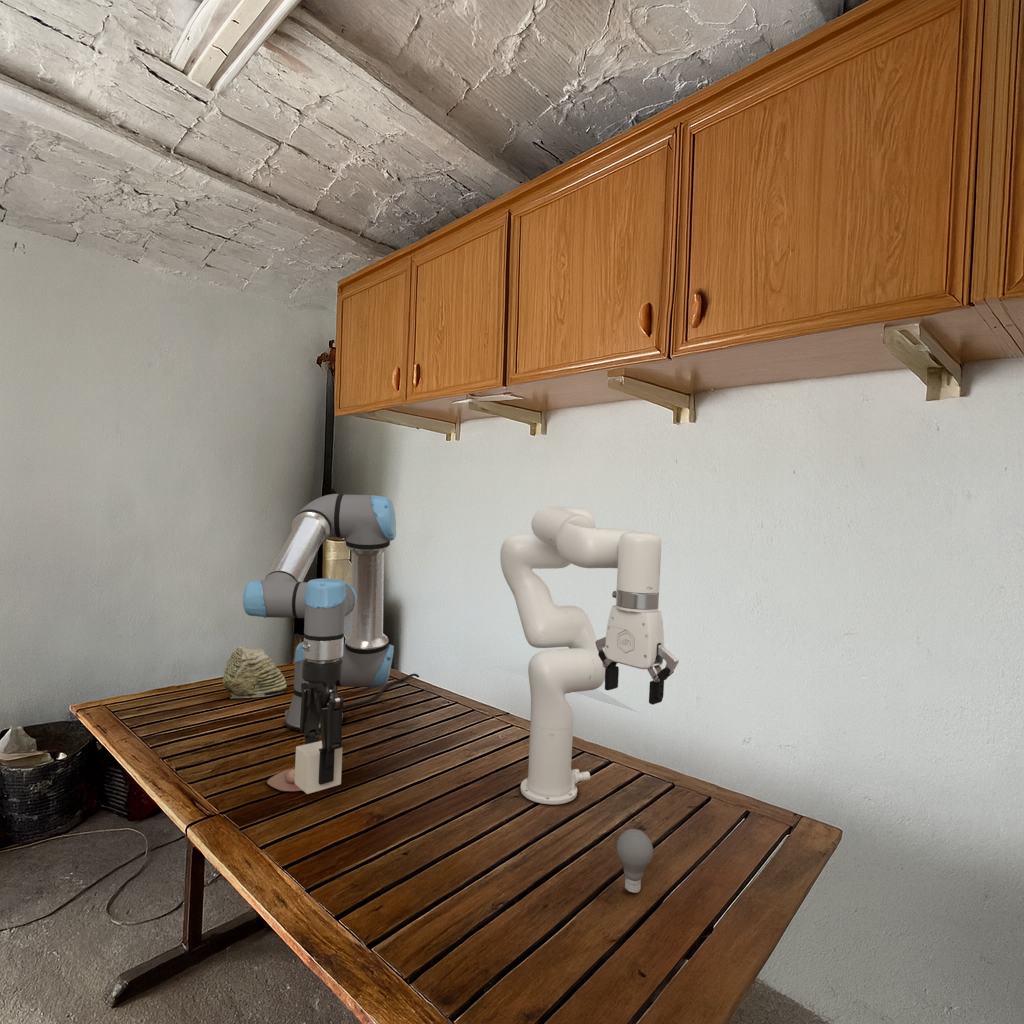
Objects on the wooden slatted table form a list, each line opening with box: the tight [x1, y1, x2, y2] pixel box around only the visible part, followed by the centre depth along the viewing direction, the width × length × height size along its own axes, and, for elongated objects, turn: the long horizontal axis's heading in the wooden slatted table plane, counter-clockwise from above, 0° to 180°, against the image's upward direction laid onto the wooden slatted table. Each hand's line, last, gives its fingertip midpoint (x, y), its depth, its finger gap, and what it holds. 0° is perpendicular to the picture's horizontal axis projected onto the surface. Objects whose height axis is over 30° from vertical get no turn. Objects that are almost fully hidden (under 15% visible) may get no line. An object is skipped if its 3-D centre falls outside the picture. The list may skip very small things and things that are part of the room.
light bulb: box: [615, 828, 654, 894], centre depth 106 cm, size 6×6×10 cm
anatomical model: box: [266, 767, 303, 792], centre depth 140 cm, size 13×4×12 cm
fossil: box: [222, 646, 288, 699], centre depth 198 cm, size 9×18×15 cm, turn 132°
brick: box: [294, 740, 343, 795], centre depth 124 cm, size 6×7×7 cm
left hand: (318, 776), depth 124 cm, fingers closed on brick, 6 cm apart
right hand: (632, 695), depth 114 cm, fingers open, 9 cm apart
